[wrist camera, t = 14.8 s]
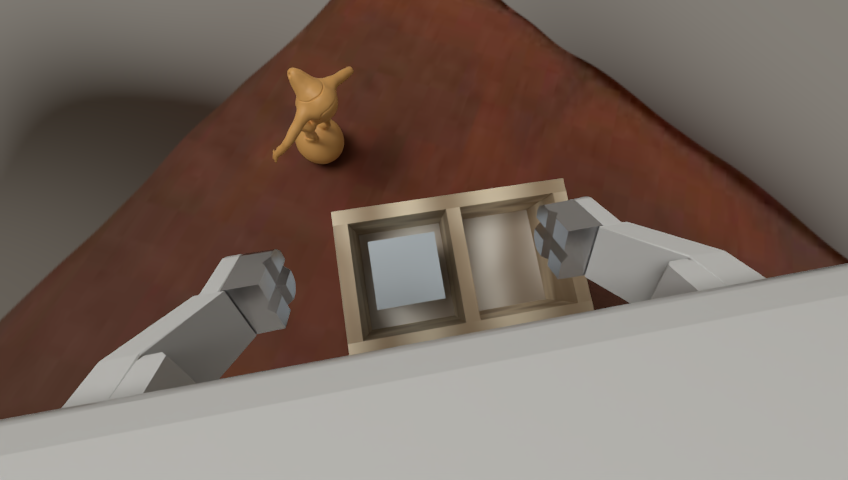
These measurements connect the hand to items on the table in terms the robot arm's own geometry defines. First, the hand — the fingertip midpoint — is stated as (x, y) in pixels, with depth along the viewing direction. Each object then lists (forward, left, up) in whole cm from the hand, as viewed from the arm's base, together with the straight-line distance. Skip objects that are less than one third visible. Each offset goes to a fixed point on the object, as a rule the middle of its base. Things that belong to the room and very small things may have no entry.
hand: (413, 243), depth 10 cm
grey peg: (0, 0, -16) cm, 16 cm away
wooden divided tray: (-4, +1, -17) cm, 18 cm away
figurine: (+5, -11, -17) cm, 21 cm away
